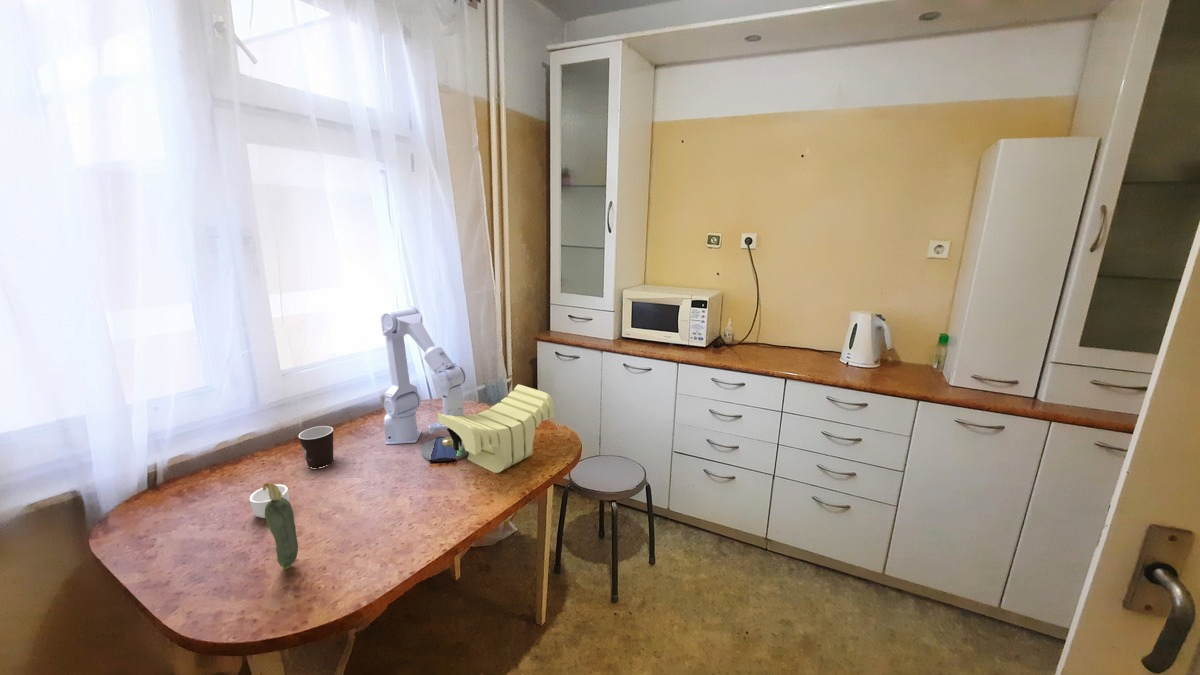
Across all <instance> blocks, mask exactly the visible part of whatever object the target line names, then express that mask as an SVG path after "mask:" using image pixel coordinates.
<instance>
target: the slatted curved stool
mask: <svg viewBox="0 0 1200 675" xmlns="http://www.w3.org/2000/svg"><path fill="white" fill-rule="evenodd" d="M554 403H555V402H554V400H553V398H552V396H551V395H550V394H549V393H547V392H545V391H542V390H538V389H536V388H532V387H528V386H525V385H522V384H519V383H518V384H517V385H516V386H515V387H514V388H513V390H512V391H510V392H509V393H508V394H507V397H506V396H505V397H504V398H503V399H501V400H500V402H497V403H496V404H494V405H493V406H491V407H489V409H486V410H482V411H481V412H477V414H475V413H473V414H466V415H464V417H463V416H456V417H455V416H452V415H447V416H446V415H444V414H443V413H438V412H437V420H438V421H437V422H439V423H441V424H443V425H445V426H446V427H448V428H450V429H451V430H453V431H454V432H456V433H457V434H458V435H459V436H460V438H461V439H462V441H463V444H464V447H465V450H466V451H468V452H469V455H468V456H467V458H466V460H467V461H470V462H472V463H473V464H475V465H478V466H480V467H482V468H484V469H486V470H488V471H490V472H491V473H494V474H498V473H501V472H503V471H504V470H506V469H508V468H510V467H512V466H513V465H515V464H517V463H519V462H521V461H523V460H525V459H526V458H528V457H530V456H532V455H533V449H534V448H533V446H534V439H535V434H536V428H538V427H539V426H540V425H541V424H542V421H543V422H545V421H546V420H548V419H553V418H555V404H554Z"/></svg>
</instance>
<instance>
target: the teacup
mask: <svg viewBox="0 0 1200 675" xmlns="http://www.w3.org/2000/svg"><path fill="white" fill-rule="evenodd" d="M275 485H276V486H277V487H278V488H279V491H280V492H281V494H282V496H281V497H283V498H285V499H287V500H288V501H289V502H290V492H289V488H288V487H287V486H286V485H284V484H280V483H279V484H275ZM263 490H264V489H263V487H261V488H259V489H257V490H255V491H254V492H252V493H251V494H250V496H249V501H248V502H249V503H250V508H251V509H252V513H253V514H254V516H256V517H258V518H261V519H266V518H265V507H266V505H267V503H268V502H269V501H270V500H272V499H269V498H270V496H269V492H268V488H267V487H266V489H265V491H263Z"/></svg>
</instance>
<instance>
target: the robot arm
mask: <svg viewBox="0 0 1200 675" xmlns="http://www.w3.org/2000/svg"><path fill="white" fill-rule="evenodd" d="M380 323H381V330H382V336H384V337H385V338H384V339H385V344H386V353H387V358H388V359H387V360H388V366H389V372H390V373H389V374H390V381H391V386H390V387H389V388H388V389H387V390H386V391H385V393H384V401H383V407H384V411H385V412H386V414H385V416H384V420H383V429H384V437H385V443H384V444H385V445H396V444H398V445H399V444H411V443H415V444H416V443H417V442H418V439H419V438H420V436H421V434H422V430H418V423H417V422H418V420H417V412H418V408H419V407H420V406H421V396H420V393H419V392H418V387H417V386H416V385H414V384H412V383H411V382H410V375H409V367H408V359H407V352H406V345H405V338H404V337H405V336H406V335H409V336H410V337H411V339H413V341H414V342H415V344H417V345H418V346H419V347H420V349H421V350H422V351H423V352H424V360H425V361H426V363H427V364H428V365H429V368H430V369H431V370H432V372H434V374H435V376H436V378H435V382H436V385H437V386H438V388H439V393H440V395H441V402H442V414H444V415H446V416H447V415H452V416H455V417H456V416H463V417H464V416H465V413H464V412H465V411H464V398H463V384H464V383H465V382H466V373H465V370H464V369H463V367H462V366H460V365H458V364H457V363H455V362H453V361H452V360H451V358H449V356H448V355H447V353H446V352H445V350H444V349H443V348H442V347H441V346H436V345H435V343H434V341H433V340H432V338H431V337H430V334H429V333H428V331H427V330H426V328H425V326H424V325H423V315H422V314H421V312H420V310H419V309H418V308H417V307H416V306H409V307H404V308H397V309H392V310H390V309H389V310H385V311H384V312H383V313H382V314H381V316H380ZM427 427H428V428H427V430H428V432H429V434H431V435H432V434H434V432H441V431H444V430H446V431H447V432H448V434H449V436H451V438H452V440H453V447H454V450H455V451H458V450H459V441H460V436H459V435H458V434H457V433H456V432H454V431H453V430H451V429H450V428H448V427H446V426H445V425H443V424H441V423H439V422H438V421H437V422H433V423H431V424H428V425H427Z"/></svg>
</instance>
